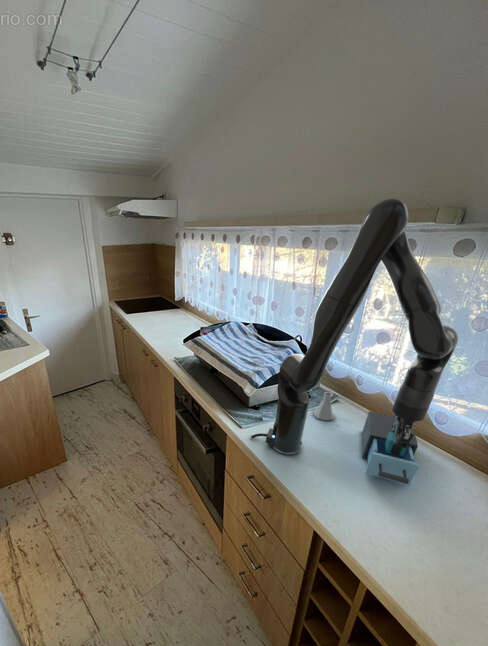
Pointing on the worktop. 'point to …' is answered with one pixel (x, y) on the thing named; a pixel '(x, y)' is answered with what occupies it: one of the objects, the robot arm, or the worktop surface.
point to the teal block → (390, 443)
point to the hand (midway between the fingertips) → (393, 448)
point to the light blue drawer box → (390, 463)
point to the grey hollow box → (380, 431)
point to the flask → (325, 408)
